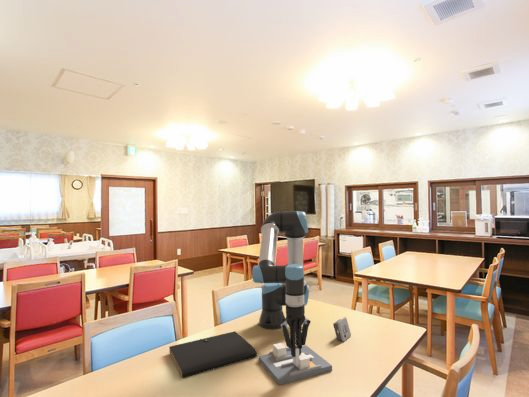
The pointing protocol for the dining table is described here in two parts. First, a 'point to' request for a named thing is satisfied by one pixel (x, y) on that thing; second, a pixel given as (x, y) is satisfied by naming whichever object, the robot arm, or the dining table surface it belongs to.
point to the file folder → (210, 353)
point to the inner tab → (279, 350)
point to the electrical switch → (342, 329)
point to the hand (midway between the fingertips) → (296, 363)
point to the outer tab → (303, 361)
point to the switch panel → (293, 366)
